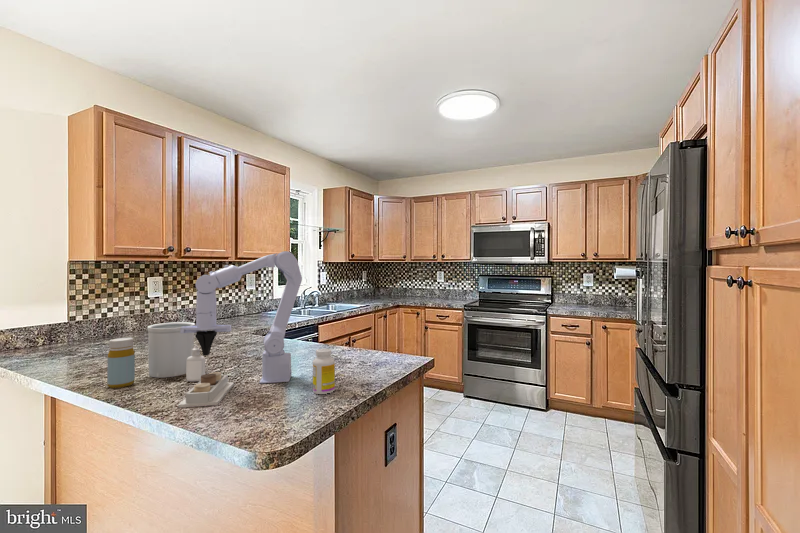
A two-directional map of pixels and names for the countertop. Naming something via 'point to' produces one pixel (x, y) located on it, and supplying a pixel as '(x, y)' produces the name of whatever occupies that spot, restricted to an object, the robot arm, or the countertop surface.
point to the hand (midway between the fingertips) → (206, 354)
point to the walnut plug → (209, 379)
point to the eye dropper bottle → (195, 365)
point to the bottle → (121, 363)
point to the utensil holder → (169, 349)
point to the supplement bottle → (323, 372)
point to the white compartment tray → (208, 394)
